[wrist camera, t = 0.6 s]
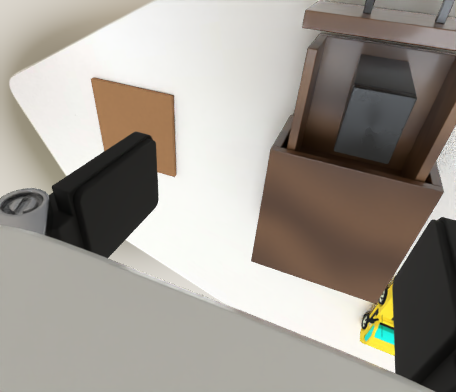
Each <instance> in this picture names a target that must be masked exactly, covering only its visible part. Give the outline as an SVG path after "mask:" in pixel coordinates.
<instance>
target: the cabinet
mask: <svg viewBox="0 0 456 392" xmlns="http://www.w3.org/2000/svg"><path fill="white" fill-rule="evenodd" d="M292 121H293V115H290V117H289V119H288V120H287V122H286V124H285V126H284V127H283V129H282V131H281V132H280V134H279V136H278V137H277V139H276V141H275V143H274V144H273V146H272V148H271V150H270V155H269V161H268V167H267V173H266V178H265V184H264V190H263V196H262V201H261V207H260V213H259V219H258V224H257V230H256V236H255V242H254V247H253V253H252V259H251V261H252V262H255V263H258V264H261V265H264V266H267V267H270V268H273V269H275V270H278V271H281V272H284V273H287V274H290V275H293V276H296V277H299V278H302V279H305V280H308V281H311V282H313V283H316V284H319V285H322V286H325V287H328V288H331V289H334V290H337V291H340V292H343V293H346V294H349V295H351V296H354V297H357V298H360V299H363V300H366V301H369V302H372V303H375V304H376V303H377V302H378V300H379V298H380V297H381V295H382V294H383V292H384V290H385V289H386V287H387V285H388V284H389V282H390V280H391V279H392V277H393V275H394V274H395V272H396V270H397V269H398V267H399V265H400V264H401V262H402V261H403V259H404V257H405V256H406V254H407V252H408V251H409V249H410V247H411V246H412V244H413V242H414V241H415V239H416V237H417V236H418V234H419V232H420V231H421V229H422V227H423V226H424V224H425V223H426V221H427V219H428V218H429V216H430V214H431V213H432V211H433V209H434V208H435V206H436V204H437V203H438V201H439V199H440V198H441V196H442V194H443V193H444V191H443V187H442V183H441V179H440V175H439V171H438V167H437V163H436V162H435V164H434V166H433V167H432V169H431V171H430V173H429V175H428V177H427V178H426V180H425V182H424V183H423V182H419V181H415V180H411V179H407V178H403V177H399V176H395V175H391V174H387V173H383V172H379V171H375V170H371V169H367V168H363V167H358V166H354V165H350V164H346V163H342V162H338V161H334V160H330V159H326V158H322V157H318V156H314V155H310V154H306V153H302V152H297V151H293V150H289V149H287V145H288V140H289V135H290V131H291V126H292Z"/></svg>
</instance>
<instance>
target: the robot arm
mask: <svg viewBox="0 0 456 392" xmlns="http://www.w3.org/2000/svg"><path fill="white" fill-rule="evenodd" d="M52 189H53V193H52V194H50V195H48V194H47V193H46V192H45V191H42V190H40V189H34V188H27V189H21V190H16V191H13V192H10V193H8V194H6V195H4V196H2V197H1V198H0V392H456V221H455V220H451V219H448V218H444V217H441V218H440V219H438V221H437V220H431V221H430V223H429V224H428V226H427V227H426V229H425V231H424V232H423V234H422V235H421V237H420V238H419V240H418V242H417V243H416V245H415V246H414V248H413V250H412V251H411V253H410V254H409V256H408V258H407V259H406V261H405V262H404V264H403V266H402V267H401V269H400V270H399V272H398V274H397V275H396V277H395V279H394V281H393V286H392V294H393V321H394V348H395V373H393V372H391V371H388V370H386V369H384V368H381V367H379V366H376V365H374V364H372V363H369V362H367V361H364V360H362V359H360V358H357V357H355V356H352V355H350V354H348V353H345V352H343V351H340V350H338V349H335V348H333V347H330V346H328V345H326V344H323V343H321V342H318V341H316V340H313V339H311V338H308V337H306V336H303V335H301V334H298V333H296V332H293V331H291V330H288V329H286V328H283V327H281V326H278V325H276V324H273V323H271V322H268V321H266V320H263V319H261V318H258V317H256V316H253V315H251V314H248V313H246V312H243V311H241V310H238V309H236V308H233V307H230V306H228V305H225V304H223V303H220V302H218V301H215V300H213V299H210V298H208V297H205V296H203V295H200V294H197V293H195V292H193V291H190V290H187V289H185V288H182V287H180V286H177V285H175V284H172V283H170V282H167V281H165V280H162V279H159V278H157V277H154V276H152V275H149V274H147V273H144V272H141V271H139V270H136V269H134V268H131V267H129V266H126V265H124V264H121V263H118V262H116V261H113V260H111V259H108V257H109V256H110V255H111V254H112V253H113V252H114V251H115V250H116V249H117V248H118V247H119V246H120V245H121V244H122V243H123V242H124V240H125V239H126V238H127V237H128V236H129V235H130V234H131V233H132V232H133V231H134V230H135V229H136V228H137V227H138V226H139V225H140V223H141V222H142V221H143V220H144V219H145V218H146V217H147V216H148V215H149V214H150V213H151V212H152V211H153V210H154V209H155V207H156V206H157V203H158V177H157V153H156V142H155V141H154V140H153V139H152V136H150V135H148V134H144V133H141V132H136V131H135V132H133V133H132V134H130V135H129V136H127V137H125V138H124V139H122V140H121V141H119V142H118V143H116V144H115V145H113V146H112V147H110V148H109V149H107V150H106V151H104V152H103V153H101V154H100V155H98V156H97V157H95V158H94V159H92V160H91V161H89V162H88V163H86V164H85V165H83V166H82V167H80V168H79V169H77V170H76V171H74V172H73V173H71V174H70V175H68V176H67V177H65V178H64V179H62V180H61V181H59V182H58V183H56V184H54V185H53V186H52Z"/></svg>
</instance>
